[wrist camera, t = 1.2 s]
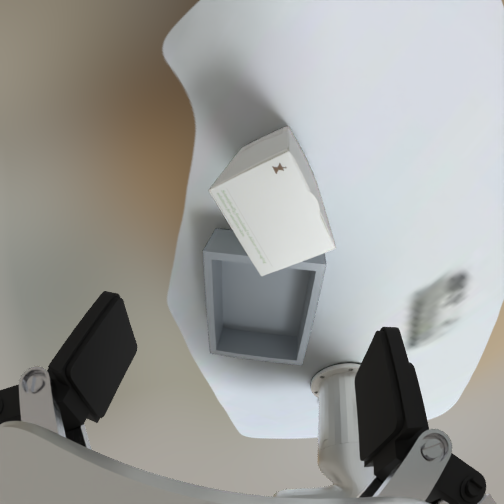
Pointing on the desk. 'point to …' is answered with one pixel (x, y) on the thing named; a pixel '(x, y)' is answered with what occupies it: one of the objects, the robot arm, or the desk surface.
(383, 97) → the desk surface
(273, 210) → the skincare box
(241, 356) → the tote
